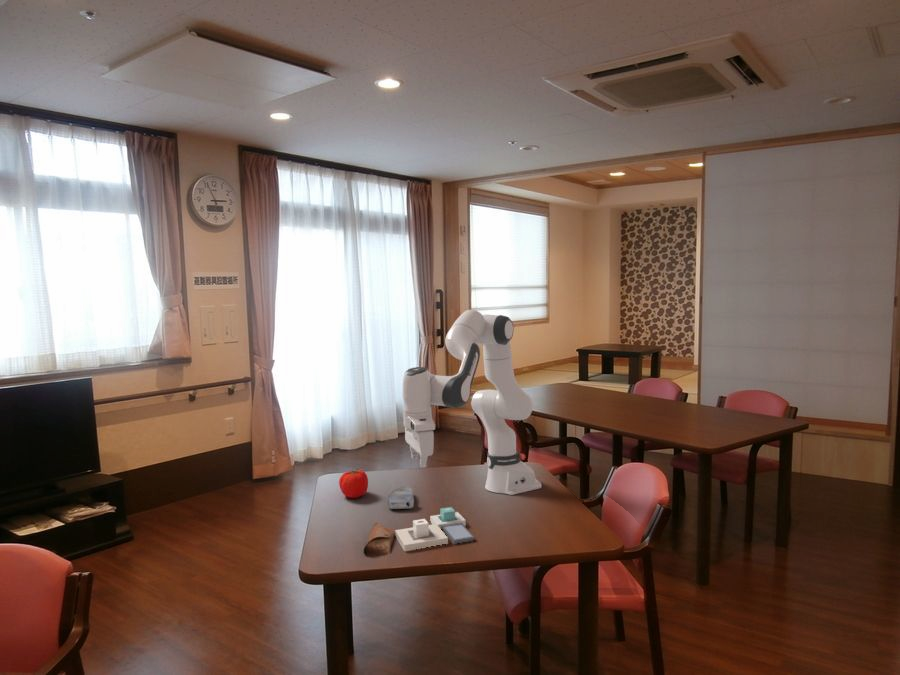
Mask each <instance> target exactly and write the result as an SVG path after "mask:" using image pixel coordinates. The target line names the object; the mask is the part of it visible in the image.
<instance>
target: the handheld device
mask: <svg viewBox="0 0 900 675" xmlns="http://www.w3.org/2000/svg"><path fill="white" fill-rule="evenodd" d="M414 502H415V498H414V491H413V489H412V488H411V487H410V486H406V485H405V486H397V487H394V489H393V490H392V491H391V493H390V494H389V495H387V507H389V508H388V509H389V510H401V509H402V510H406V509H412V508H414V504H415V503H414Z"/></svg>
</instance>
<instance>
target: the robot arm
mask: <svg viewBox="0 0 900 675" xmlns="http://www.w3.org/2000/svg"><path fill="white" fill-rule="evenodd" d="M514 329H515V328H514V323H513V321H512V320H511V318H510V317H509V316H506V315H502V314H500V315H496V314H482V313H481V312H479V310H478V311H477V310H475V309H467V310H465V311H464V312H462V313H461V314H460V315H459V316H458V318H456V319H455V321H454V323H453V324H452V325H451V327H450V329H449V330H448V331H447V333H446V336H445V339H444V342H445V343H444V344H445V347H446V350H447V351H448V353H449V354H450V355H451V356H452V357H454V358H455V359H457V360H458V361H459V360H460V361H461V365H460V367H459V370H458V372H457V373H455V374H454V375H439V374H438V375H437V374H433V373H431V372H430V371H429V369H428V368H427V367H424V366H416V367H411V368H408V369H407V370H406V371H405V372H404V374H403V379H402V398H403V405H404V406H403V409H402V410H403V411H402V412H403V416H402V418H403V427H404V438H405V439H404V440H405V442H406V444H408V445H409V449H410V453H411V459H412V460H418V458H419V467H420V468H421V469H424V468H427V461H428V457H431V456H432V455H433V453H434V446H435V445H434V443H435V442H434V441H435V438H434V437H435V434H434V431H435V430H436V423H435V421H434V419H433V415H432V407H431V405H434V406H439V407H440V406H442V407H448V408H453V409H460V408H463V407H464V406H465V405H466V404H467V403H468V401H469V400H470V396H471V390H472V385H473V382H474V378H475V375H476V372H477V369H478V366H479V361H480V357H481V351H480V350H481V349H480V347H479V345H483V346H482V352H483V354H482V355H483V366H484V367H483V368H484V376H485V378H486V380H487V381H489V382H490V383H491V384H492V385H493V386H494V387H495V389H489V388H487V389H481V390H477V391H476V392H474V394H473V395H472V398H471V400H470V401H471V409H472V410H473V412H474V413H475V414H476V415H477V416H478V417H479V419H480V420H481V421H482V423H483V425H484V428H485V431H486V435H487V448H488V449H487V450H488V451H487V458H486V462H487V475H486V481H485V486H484V488H485V490H486V491H488V492H491V493H496V494H506V495H509V496H510V495H511V496H512V495H513V496H514V495H518V494H521V493H526V492H530V491H534V490H539V489H541V488H542V483H541V481H540V480H538V479H537V478H536V475H535V474H536V473H535V472H534V469H532V468H531V467H530V466H529V465H527V464H526V463H525V462H523V461H522V460H525V459H526V455H525V454H524V453H520V452H518V451H517V434H516V432H515V430H514V429H513V428H512V427H510V426H509V425H508V424H507V423H506V420H512V421H521V420H526V419H528V418H529V417H530V416H531V415H532V412H533V407H534V406H533V405H534V404H533V401H532V398H531V397H530V395H528V394H527V393H526V392H525V391H524V390H523V389H522V388H521V387H520V385H519V384H518V381H517V380H516V377H515V373H514V372H515V371H514V367H513V366H514V365H513V355H512V354H513V353H512V346H511V340H512V338H513V336H514V332H515V331H514Z"/></svg>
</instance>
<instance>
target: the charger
mask: <svg viewBox="0 0 900 675" xmlns="http://www.w3.org/2000/svg"><path fill="white" fill-rule="evenodd" d="M429 525H430V524H429V522H428V521H427V520H426V518H421V519H414V520H412V527H413V536H414V537H415V538H419V537H425V536H429Z"/></svg>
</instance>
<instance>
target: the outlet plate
mask: <svg viewBox="0 0 900 675" xmlns="http://www.w3.org/2000/svg"><path fill="white" fill-rule="evenodd" d="M428 525H429V536H425V537H419V538H415V537H414V536H413V526H412V527H407V528H400V529H394V530H395V538H396V540H397V542H398V543H399V545H400V546H401V548H402V550H403V551H404V552H410V551H416V549H417V550H421V548H422V549H427V548H426V547H428V548H432V547H431V546H434V547H437V546H436V545H440V546H443V545H442V544H446V545H449V538H448V537H447V536H446V535H445V533H444V532H443V531H442V530H441V529H440V528H439V526H438V525H437V524H432V523H431V524H428Z"/></svg>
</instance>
